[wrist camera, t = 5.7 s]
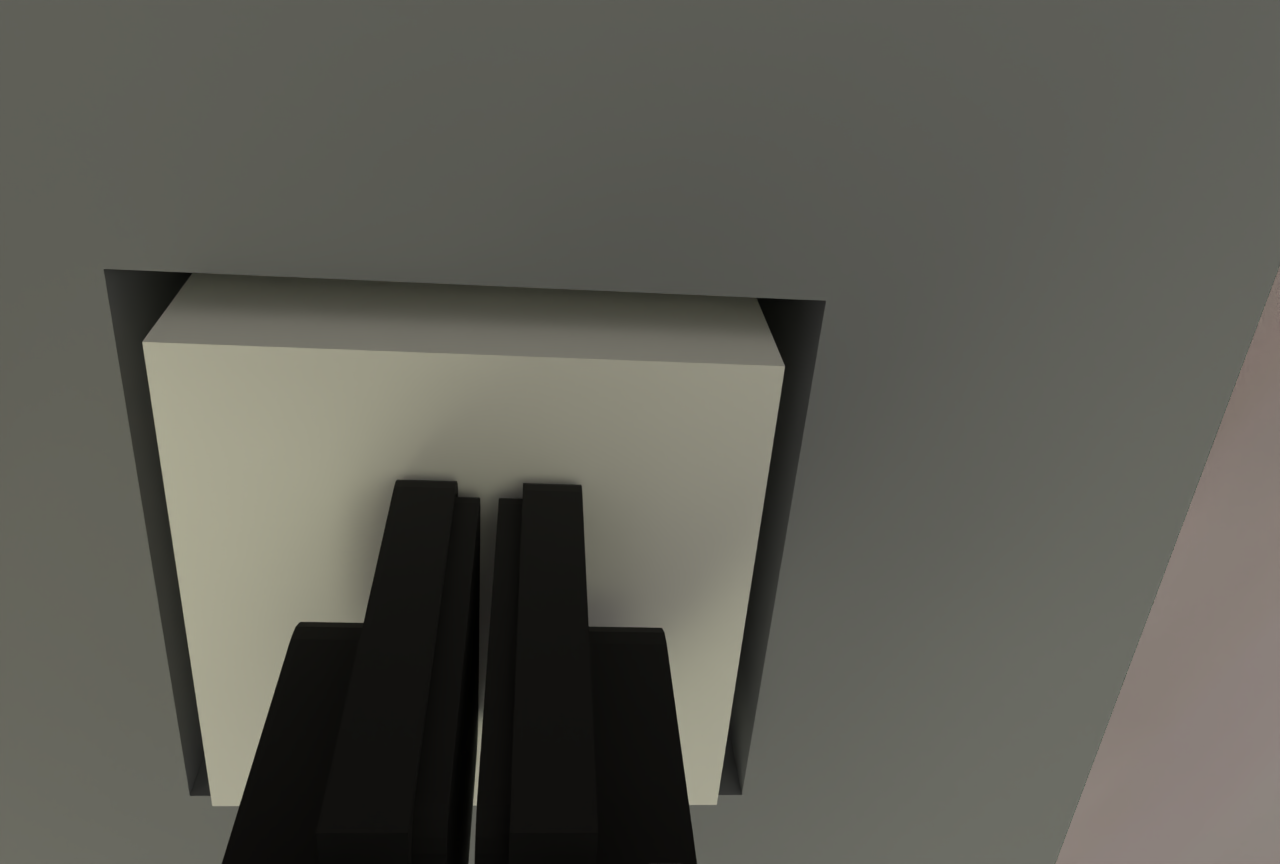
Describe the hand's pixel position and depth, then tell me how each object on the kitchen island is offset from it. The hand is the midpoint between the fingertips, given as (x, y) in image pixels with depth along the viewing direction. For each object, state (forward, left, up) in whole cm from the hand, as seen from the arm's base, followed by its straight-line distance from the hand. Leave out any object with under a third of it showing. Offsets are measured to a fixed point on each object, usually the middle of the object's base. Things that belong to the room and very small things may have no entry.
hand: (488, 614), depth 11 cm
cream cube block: (0, 0, -6) cm, 6 cm away
